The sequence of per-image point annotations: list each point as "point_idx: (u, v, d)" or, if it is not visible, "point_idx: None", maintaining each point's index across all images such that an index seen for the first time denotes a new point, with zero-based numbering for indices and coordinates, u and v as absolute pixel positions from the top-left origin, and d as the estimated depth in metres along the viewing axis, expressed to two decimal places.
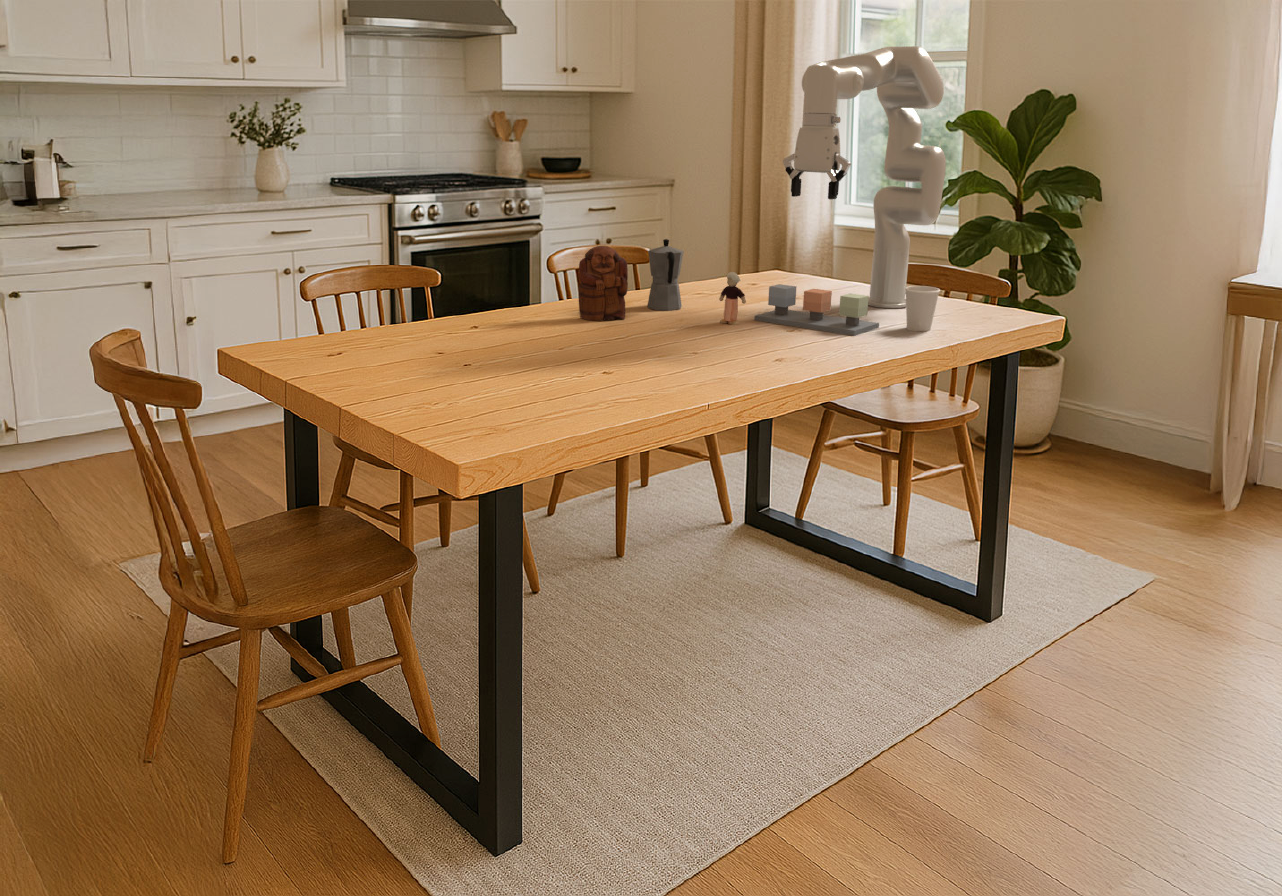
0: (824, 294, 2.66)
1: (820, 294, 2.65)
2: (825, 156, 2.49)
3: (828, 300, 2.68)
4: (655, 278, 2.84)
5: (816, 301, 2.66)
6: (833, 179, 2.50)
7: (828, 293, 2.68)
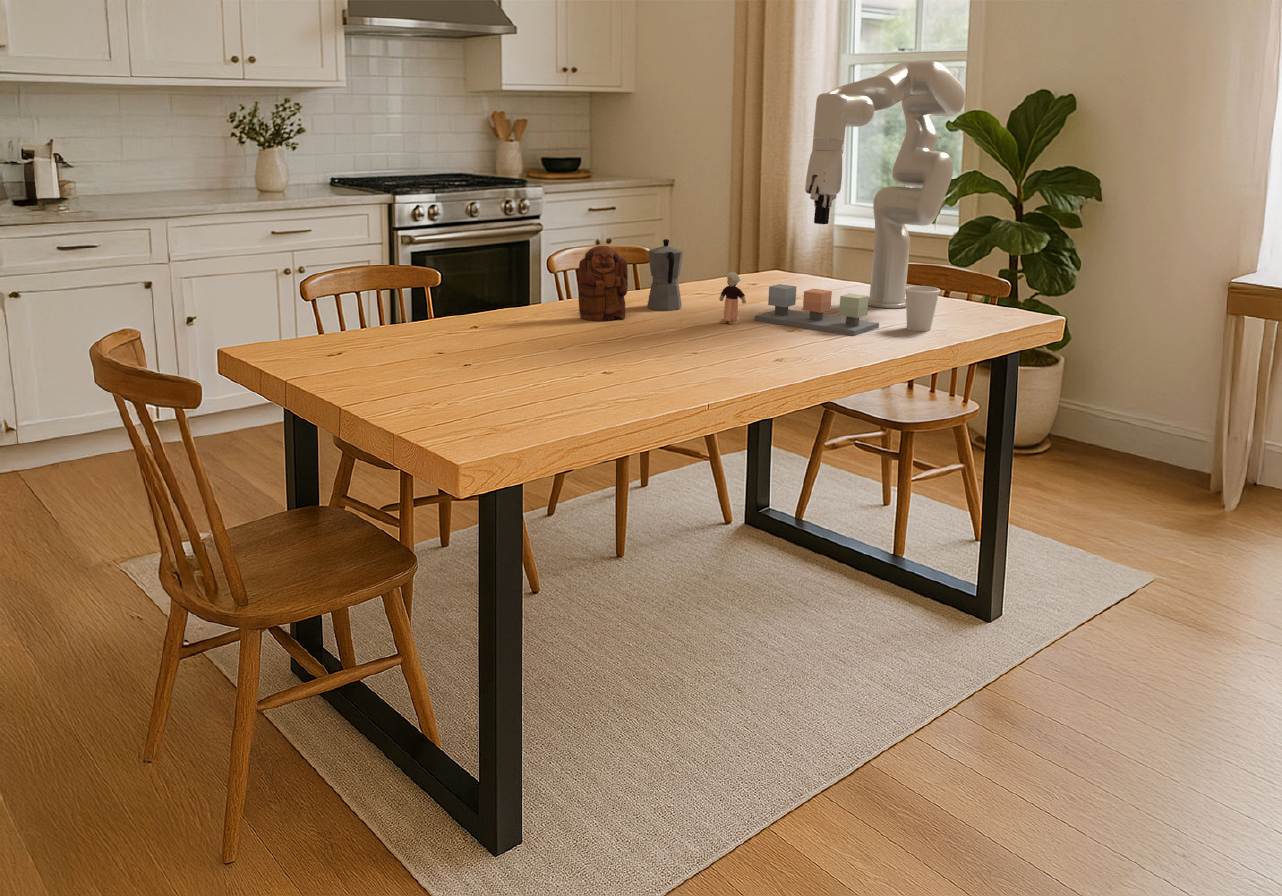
0: (824, 294, 2.66)
1: (820, 294, 2.65)
2: (840, 179, 2.67)
3: (828, 300, 2.68)
4: (655, 278, 2.84)
5: (816, 301, 2.66)
6: (829, 205, 2.67)
7: (828, 293, 2.68)
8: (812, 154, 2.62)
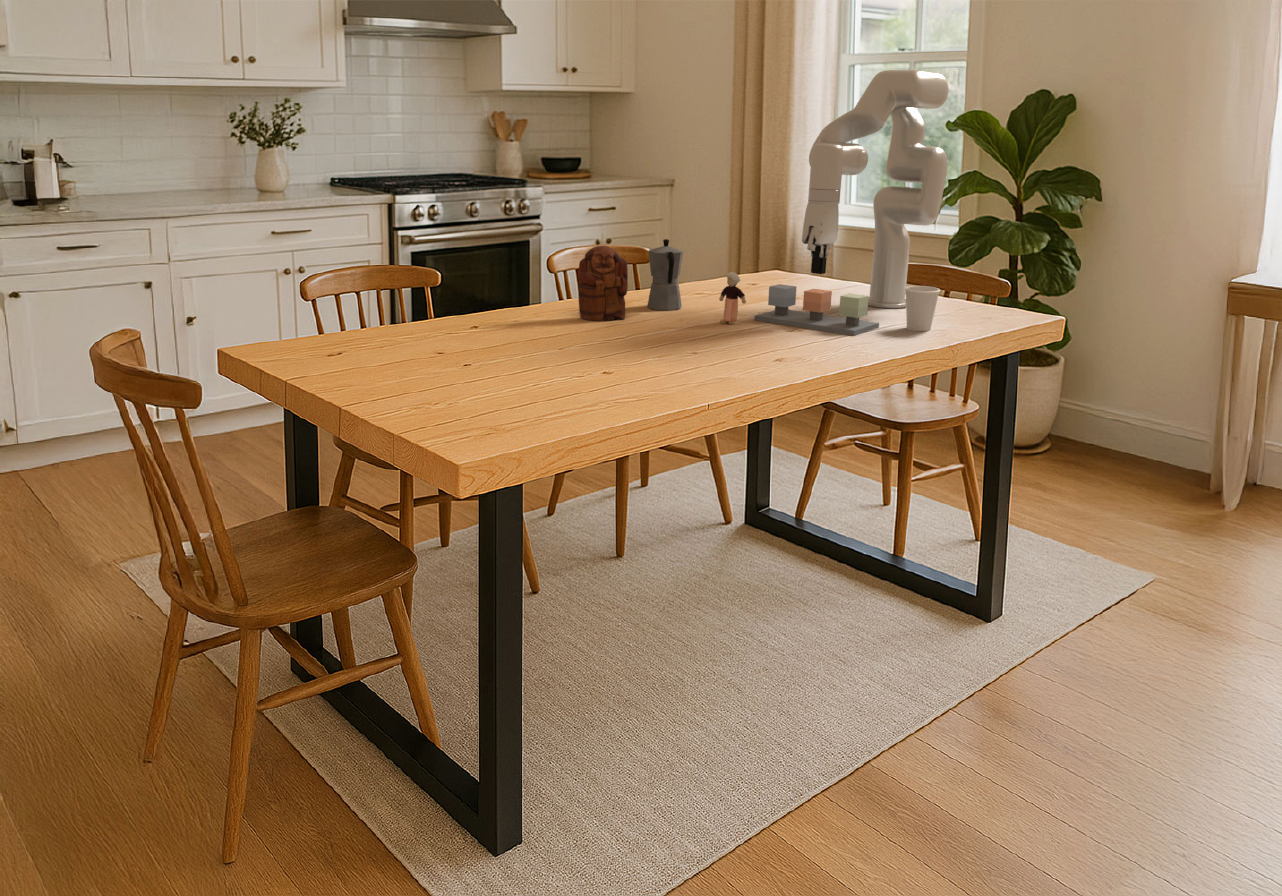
0: (824, 294, 2.66)
1: (820, 294, 2.65)
2: (836, 228, 2.65)
3: (828, 300, 2.68)
4: (655, 278, 2.84)
5: (816, 301, 2.66)
6: (826, 254, 2.65)
7: (828, 293, 2.68)
8: (808, 205, 2.59)
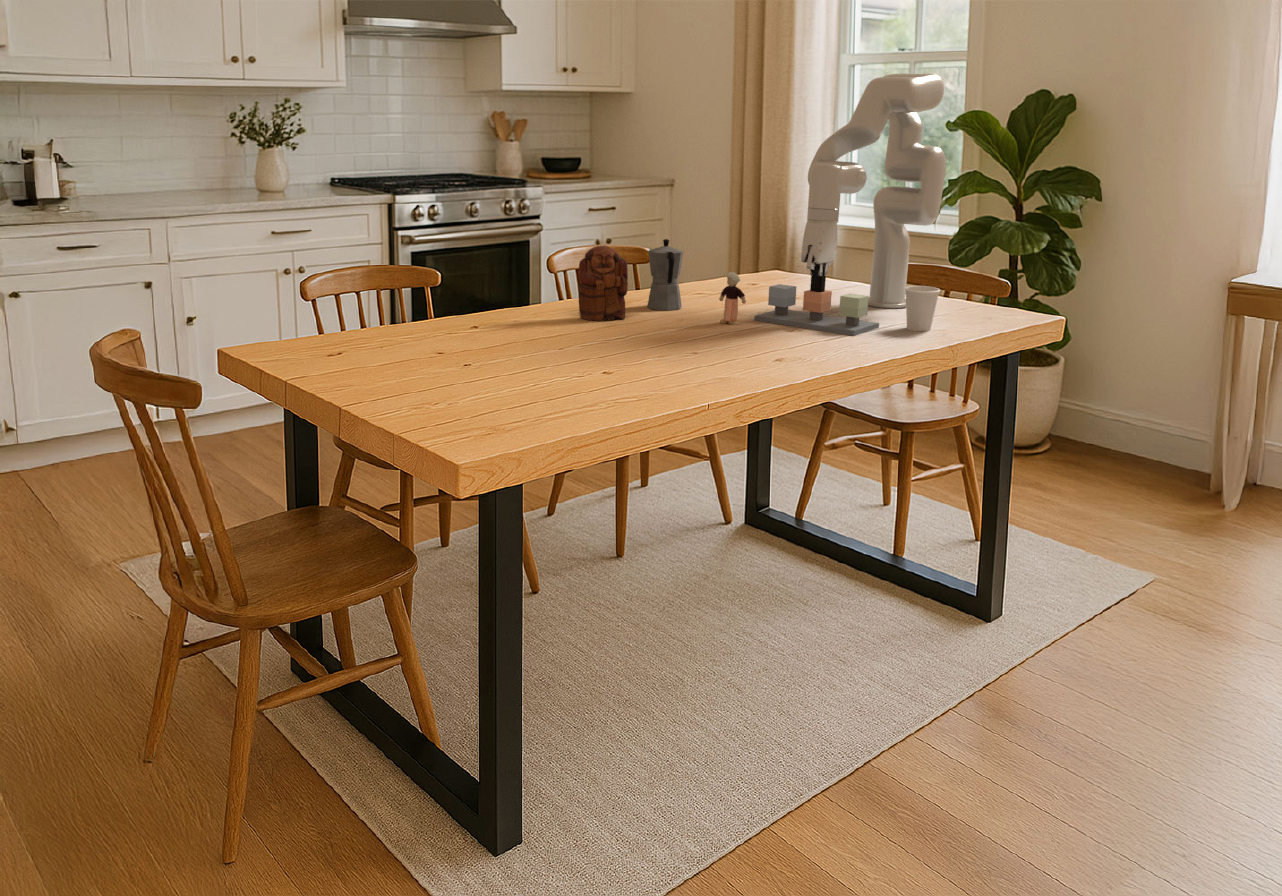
0: (824, 295, 2.66)
1: (820, 294, 2.65)
2: (835, 246, 2.66)
3: (828, 300, 2.68)
4: (655, 278, 2.84)
5: (816, 301, 2.66)
6: (825, 272, 2.67)
7: (828, 293, 2.68)
8: (807, 224, 2.61)
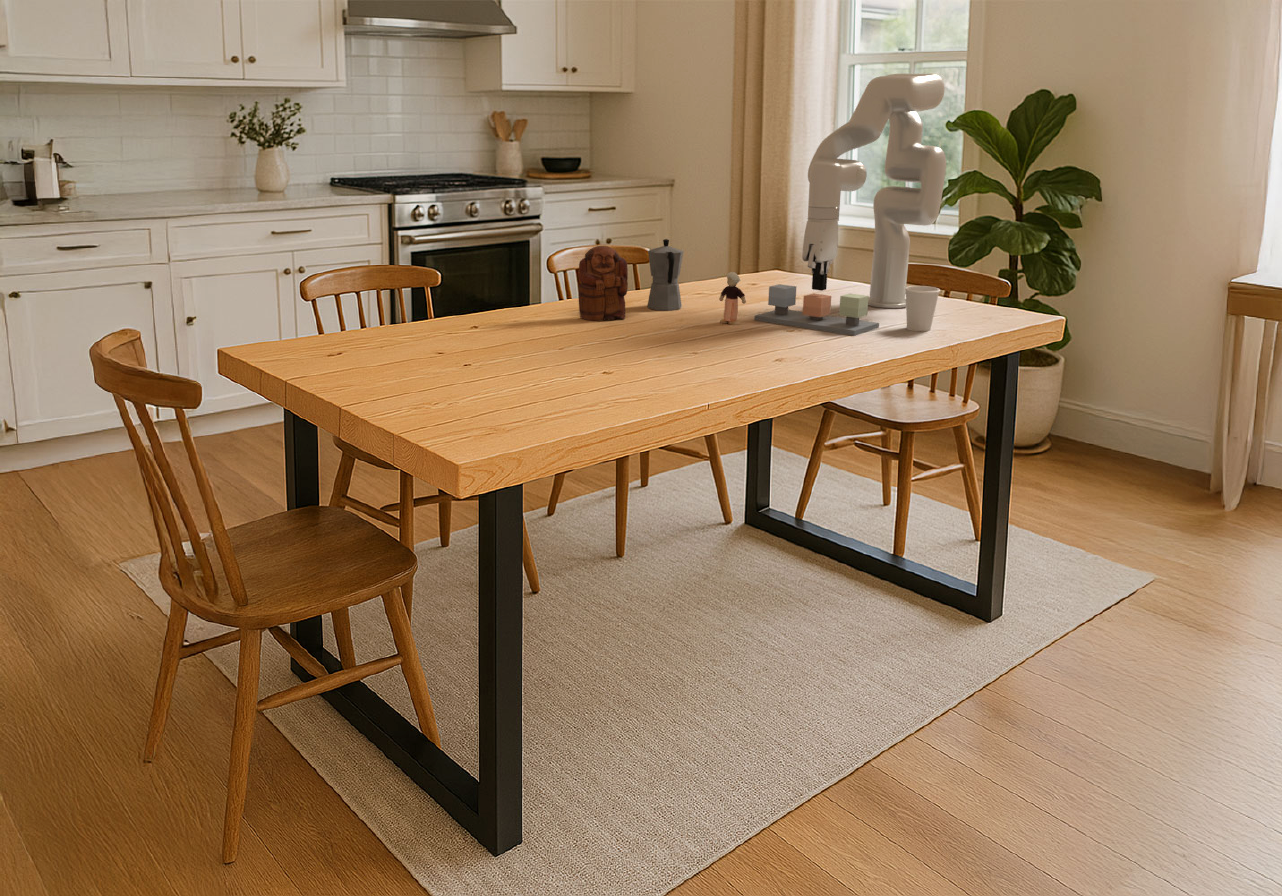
0: (823, 299, 2.66)
1: (820, 299, 2.66)
2: (836, 244, 2.66)
3: (827, 305, 2.69)
4: (655, 278, 2.84)
5: (816, 306, 2.67)
6: (826, 270, 2.67)
7: (828, 298, 2.68)
8: (808, 223, 2.61)
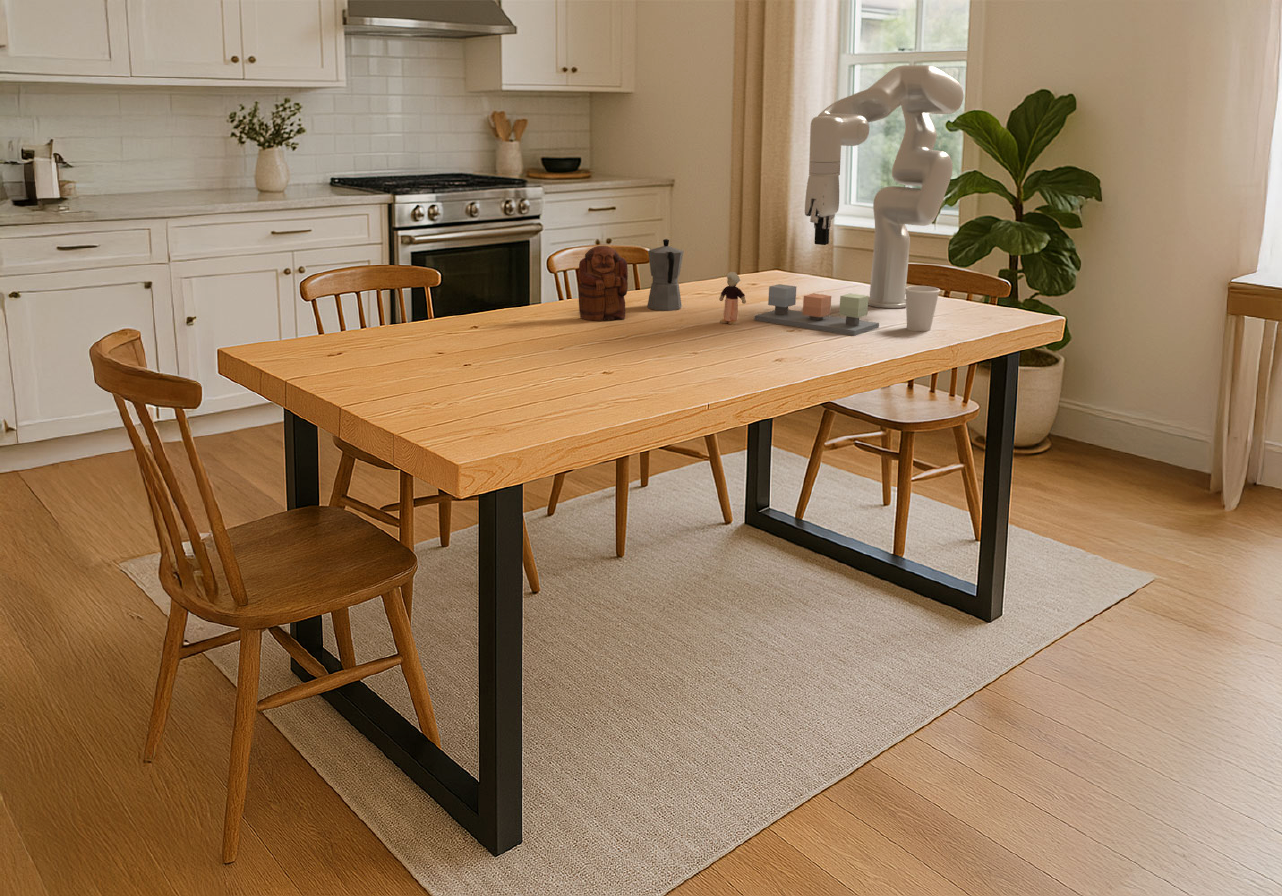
0: (823, 299, 2.66)
1: (820, 299, 2.66)
2: (837, 199, 2.70)
3: (827, 305, 2.69)
4: (655, 278, 2.84)
5: (816, 306, 2.67)
6: (828, 225, 2.71)
7: (828, 298, 2.68)
8: (810, 178, 2.64)
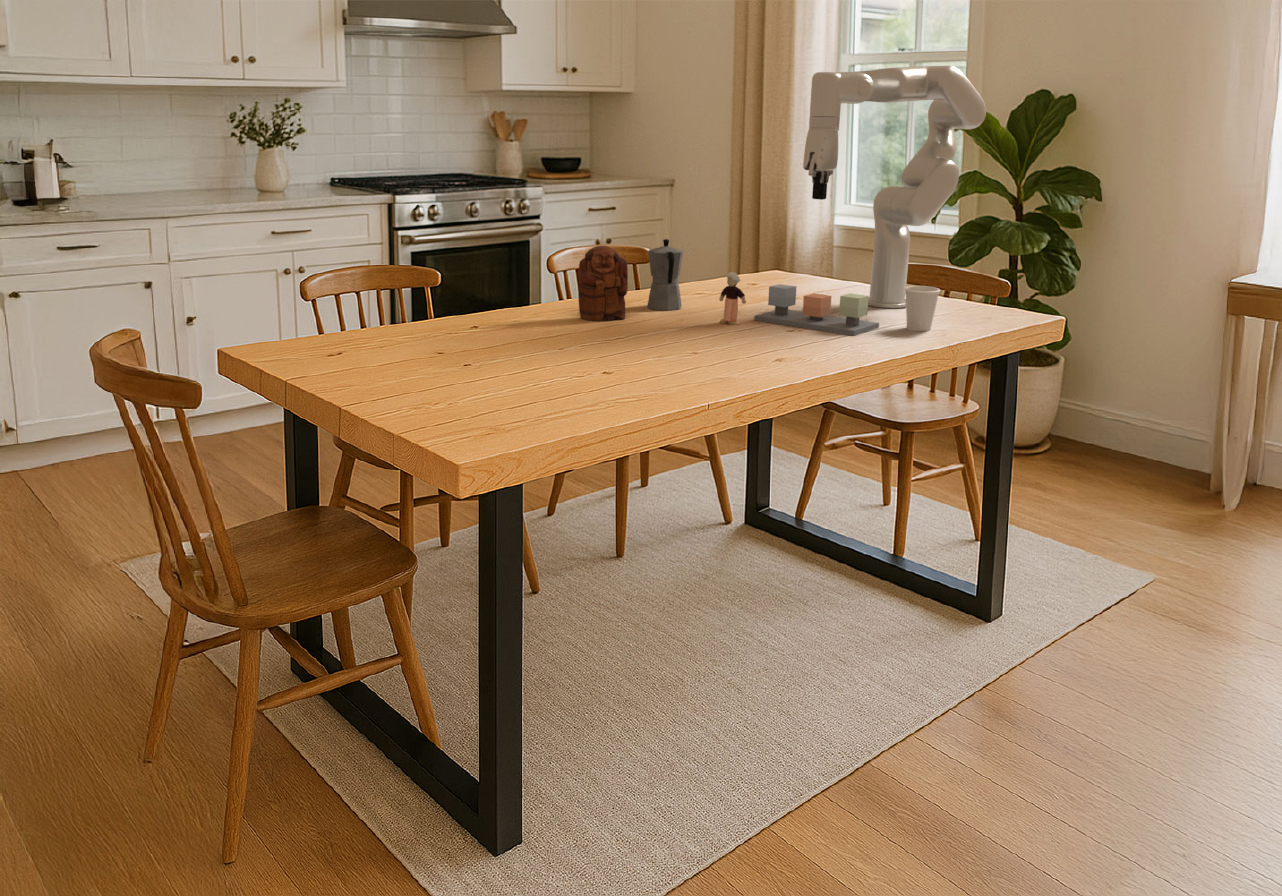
0: (823, 299, 2.66)
1: (820, 299, 2.66)
2: (836, 155, 2.76)
3: (827, 305, 2.69)
4: (655, 278, 2.84)
5: (816, 306, 2.67)
6: (826, 180, 2.76)
7: (828, 298, 2.68)
8: (809, 132, 2.70)
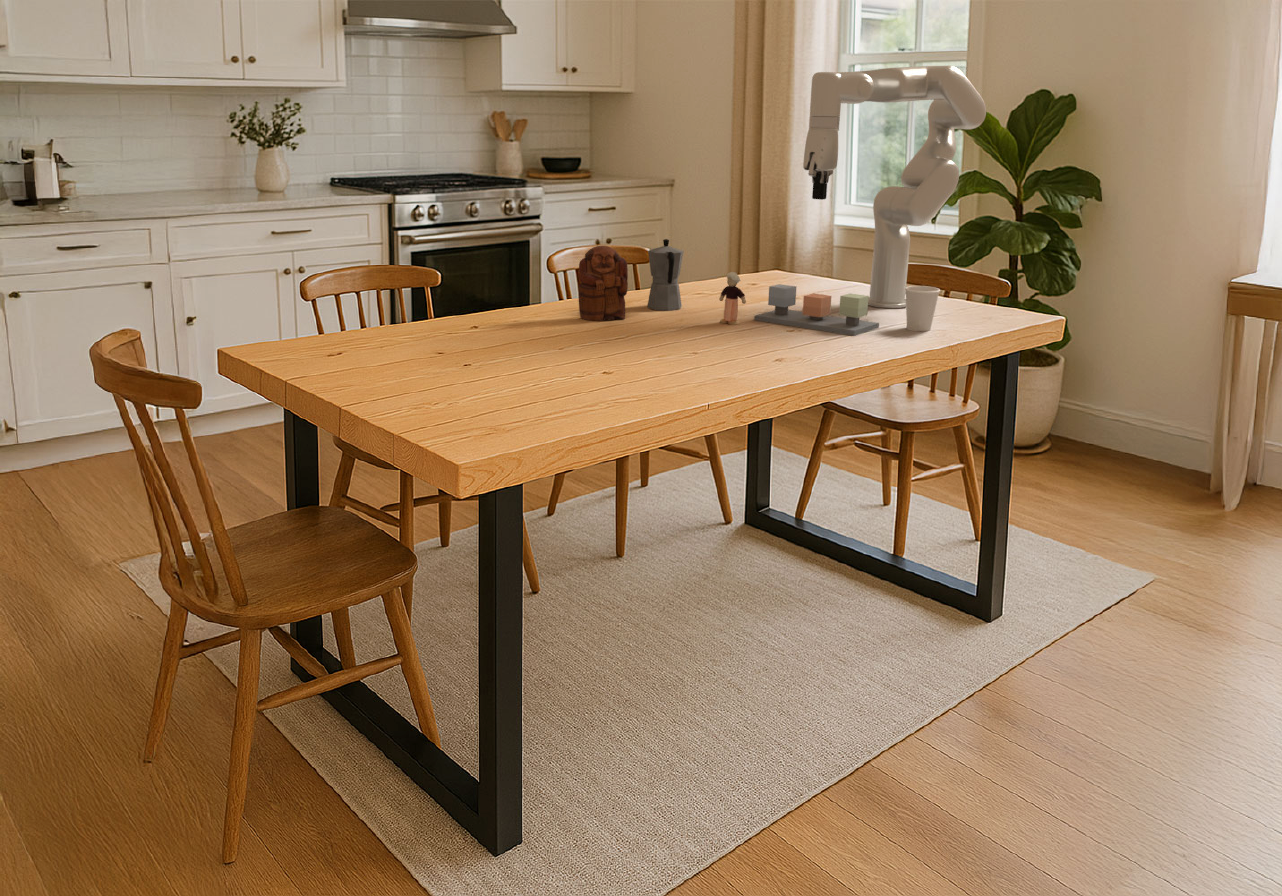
0: (823, 299, 2.66)
1: (820, 299, 2.66)
2: (836, 155, 2.76)
3: (827, 305, 2.69)
4: (655, 278, 2.84)
5: (816, 306, 2.67)
6: (826, 180, 2.76)
7: (828, 298, 2.68)
8: (809, 132, 2.70)
